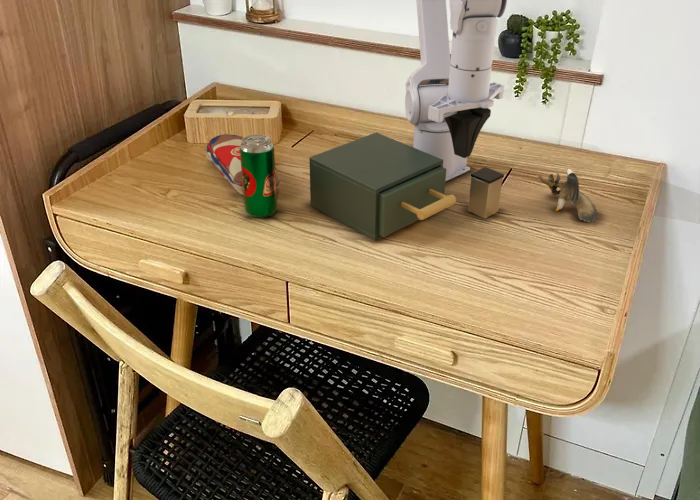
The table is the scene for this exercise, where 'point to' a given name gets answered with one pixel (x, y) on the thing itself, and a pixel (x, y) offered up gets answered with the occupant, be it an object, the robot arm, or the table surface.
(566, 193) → the eagle figurine
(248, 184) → the soda can
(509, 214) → the table surface
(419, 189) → the drawer
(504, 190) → the table surface
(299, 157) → the table surface
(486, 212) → the metal-capped square post
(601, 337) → the table surface
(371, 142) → the cabinet
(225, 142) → the pencil case
